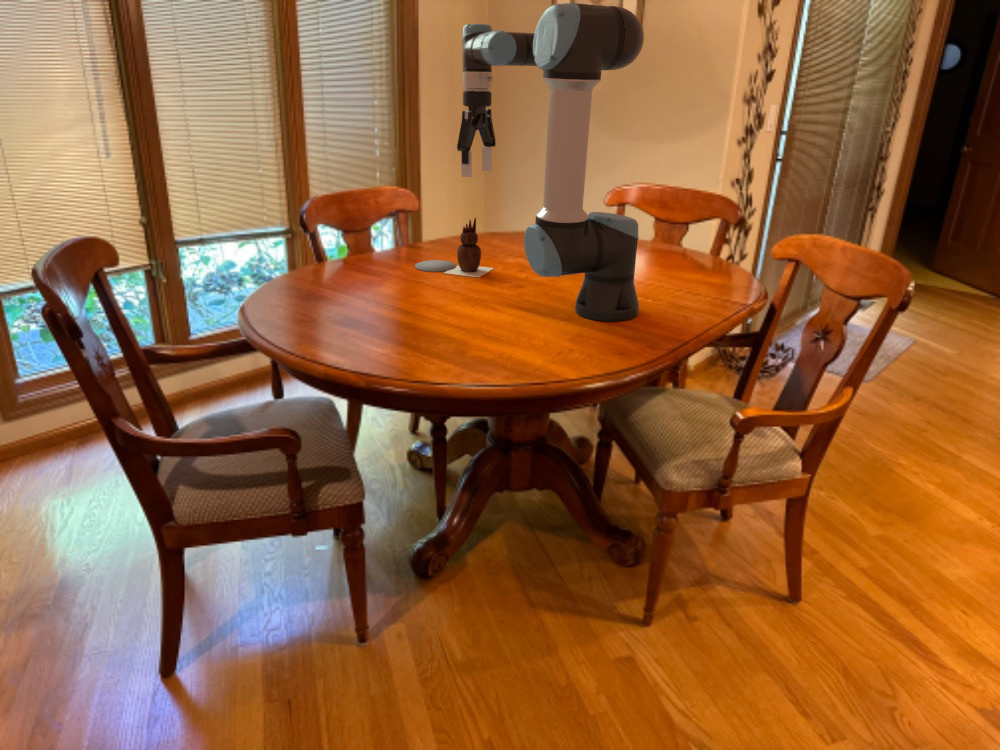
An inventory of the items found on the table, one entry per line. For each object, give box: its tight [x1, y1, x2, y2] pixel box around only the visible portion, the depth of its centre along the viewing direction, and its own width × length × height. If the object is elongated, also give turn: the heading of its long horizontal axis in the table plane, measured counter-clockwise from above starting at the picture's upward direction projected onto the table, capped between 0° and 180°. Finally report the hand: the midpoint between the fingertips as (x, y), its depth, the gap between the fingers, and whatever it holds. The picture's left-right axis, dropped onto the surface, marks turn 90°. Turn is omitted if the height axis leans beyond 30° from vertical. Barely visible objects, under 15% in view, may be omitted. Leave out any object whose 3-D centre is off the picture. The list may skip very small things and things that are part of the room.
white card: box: [443, 264, 495, 278], centre depth 198 cm, size 11×11×1 cm
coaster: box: [414, 259, 457, 273], centre depth 202 cm, size 12×12×1 cm
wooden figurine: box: [456, 217, 482, 272], centre depth 195 cm, size 7×6×15 cm
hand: (477, 173), depth 188 cm, fingers open, 13 cm apart
